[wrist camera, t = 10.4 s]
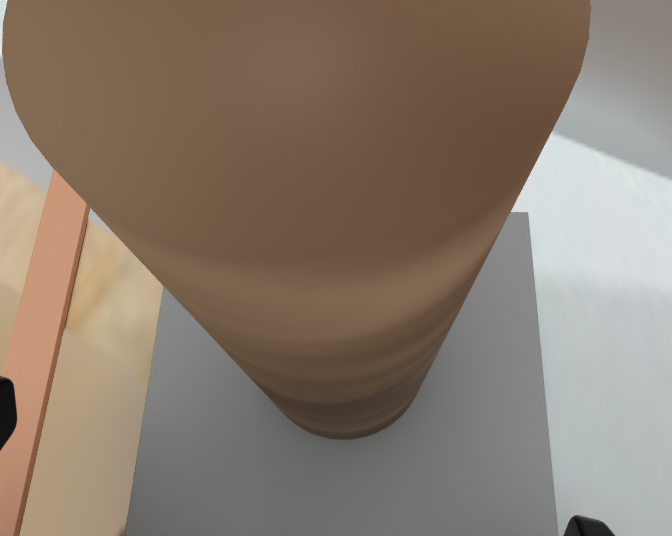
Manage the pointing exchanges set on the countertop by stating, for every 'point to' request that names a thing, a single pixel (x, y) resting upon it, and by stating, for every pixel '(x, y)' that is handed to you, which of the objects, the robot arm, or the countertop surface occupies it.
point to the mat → (363, 453)
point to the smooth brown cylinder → (302, 166)
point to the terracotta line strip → (39, 341)
